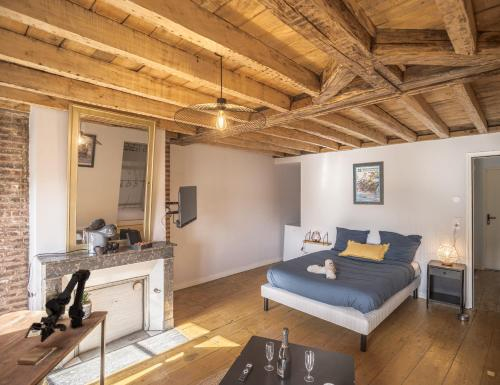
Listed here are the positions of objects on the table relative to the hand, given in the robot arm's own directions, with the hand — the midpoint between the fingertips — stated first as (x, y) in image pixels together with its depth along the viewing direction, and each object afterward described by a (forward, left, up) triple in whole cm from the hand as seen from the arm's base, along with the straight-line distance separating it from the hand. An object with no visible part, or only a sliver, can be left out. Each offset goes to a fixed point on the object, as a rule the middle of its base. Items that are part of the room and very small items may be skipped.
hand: (41, 342), depth 166 cm
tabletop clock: (-20, -44, -7) cm, 49 cm away
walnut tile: (-2, -2, -5) cm, 6 cm away
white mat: (+2, +2, -7) cm, 7 cm away
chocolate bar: (-6, -34, -7) cm, 35 cm away
